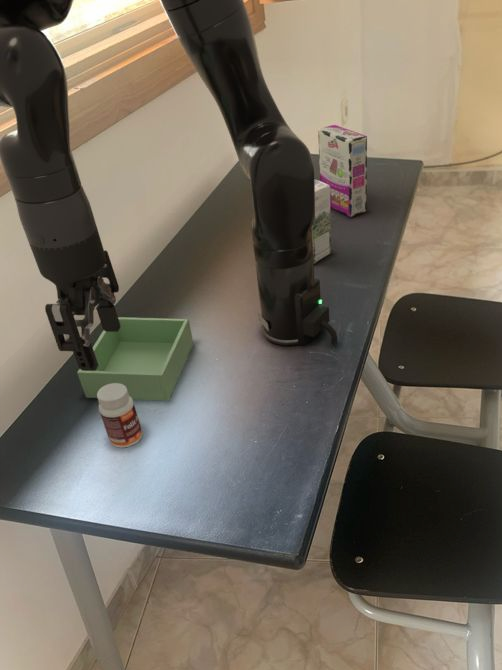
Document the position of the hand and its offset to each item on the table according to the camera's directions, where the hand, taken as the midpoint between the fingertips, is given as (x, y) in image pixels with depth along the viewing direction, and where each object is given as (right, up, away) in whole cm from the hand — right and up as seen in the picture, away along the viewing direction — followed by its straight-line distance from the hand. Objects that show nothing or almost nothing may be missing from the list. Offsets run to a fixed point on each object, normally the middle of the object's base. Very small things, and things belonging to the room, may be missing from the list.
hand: (101, 348), depth 84 cm
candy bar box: (+33, +40, +65) cm, 83 cm away
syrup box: (+26, +24, +49) cm, 61 cm away
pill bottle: (0, -12, +11) cm, 16 cm away
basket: (-1, -1, +23) cm, 23 cm away
